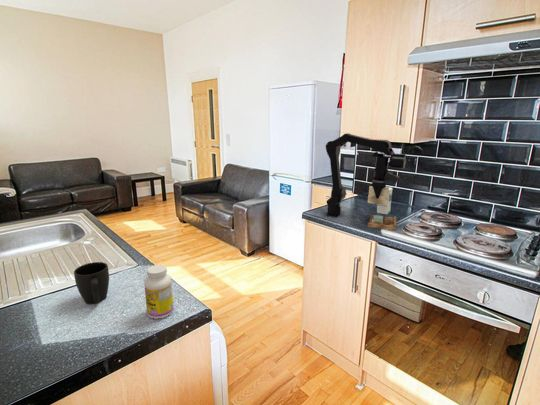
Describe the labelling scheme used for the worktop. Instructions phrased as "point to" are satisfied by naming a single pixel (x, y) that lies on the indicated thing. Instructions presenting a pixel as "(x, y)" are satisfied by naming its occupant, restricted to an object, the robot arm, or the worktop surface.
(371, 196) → the birch board
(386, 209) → the syrup box
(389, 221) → the small walnut offcut
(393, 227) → the rack
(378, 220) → the teal offcut
